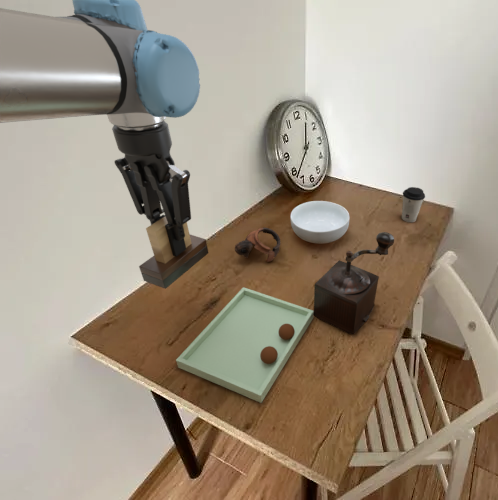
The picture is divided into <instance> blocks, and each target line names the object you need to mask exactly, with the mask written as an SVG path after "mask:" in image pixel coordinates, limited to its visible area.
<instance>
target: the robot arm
mask: <svg viewBox="0 0 498 500" xmlns="http://www.w3.org/2000/svg"><path fill="white" fill-rule="evenodd" d="M71 2H72V5H73V6H72V7H73V14H72V15H67V16H52V15H46V14H39V13H34V12H28V11H21V10H16V9H10V8H3V7H0V124H5V123H17V122H18V123H19V122H28V121H30V122H31V121H42V120H43V121H44V120H52V119H53V120H54V119H67V118H78V117H88V116H89V117H91V116H103V115H107V119H108V121H109V123H110V124H111V125H113V126H112V128H111V130H112V134H113V136H114V140H115V143H116V146H117V148H118V151H119V152H121V153H122V154H123V155H124V156H123V157H120V158H117V159H115V160H114V165H115V166H116V168H117V169H118V171H119V172H120V174H121V176H122V178H123V181H124V183H125V185H126V188H127V190H128V193H129V195H130V197H131V199H132V202H133V205H134V208H135V209H136V212H137V214H138V215H145V217H146V219H147V220H148V221H149V222H150V225H152V224H154V223H155V222H157V221H158V220H160V219H162V218H163V217H165V216H166V219H167V222H168V224H166V225H165V228H166V231H167V235H168V239H169V242H170V246H171V250H172V254H173V256H178V255H179V254H180V253H182V252H183V251H184V250H186V245H185V241H184V237H185V233H184V228H183V224H185V223H186V222H187V223H188V222H189V221H191V219H192V212H191V202H190V191H189V190H190V189H189V181H190V177H191V173H190V171H189V170H188V169H184V170H181V169H180V168H178V167H177V166H176V165H175V164H176V163H175V161H174V159H173V157H172V155H171V148H172V146H173V141H172V137H171V132H170V128H169V124H168V123H167V121H165V120H166V119H167V118H174V119H175V118H181V117H184V116H186V115H187V114H188V113H190V112H191V111H192V110H193V109H194V107H195V106H196V104H197V102H198V99H199V96H200V92H201V91H200V89H201V84H200V69H199V65H198V63H197V60H196V58H195V56H194V54H193V52H192V51H191V49H190V48H189V47H188V46H187V44H186V43H185V42H183V41H182V40H181V39H179V38H178V37H176V36H175V35H171V34H167V33H161V32H160V33H159V32H157V31H155V30H150V29H148V27H147V23H146V20H145V16H144V14H143V10H142V7H141V5H140V3H139V2H138V1H137V0H72V1H71Z"/></svg>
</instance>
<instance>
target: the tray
mask: <svg viewBox="0 0 498 500" xmlns="http://www.w3.org/2000/svg"><path fill="white" fill-rule="evenodd" d="M313 313H314V309H309V308H307V307H305V306H301V305H298V304H295V303H292V302H289V301H286V300H283V299H280V298H277V297H275V296H272V295H271V296H270V295H268V294H265V293H263V292H259V291H256V290H253V289H250V288H247V287H244V286H243V287H242V288H241V289H240V290H239V291H238V292H237V293H236V295H234V296H233V297H232V299H231V300H230V301H229V302H228V303H227V304H226V305H225V306H224V307H223V308H222V310H220V312H219V313H218V314H217V315H216V316H215V317H214V318H213V319H212V320H211V321H210V322H209V324H207V325H206V327H205V328H204V329H203V330H202V331H201V332H200V333H199V334H198V335H197V336H196V338H195V339H194V340H193V341H192V342H191V343H190V344H189V345H188V346H187V348H185V349H184V350H183V352H182V353H180V355H178V357H177V358H176V359H175V361H176V365H177V368H178V369H181V370H183V371H185V372H188V373H190V374H193V375H194V376H197V377H199V378H201V379H204V380H206V381H208V382H212V383H214V384H216V385H217V386H220V387H223V388H226V389H228V390H230V391H232V392H234V393H237V394H239V395H242V396H244V397H247V398H249V399H251V400H253V401H256V402H258V403H260V404H262V403H263V401H264V400H265V398H266V396H267V395H268V393H269V392H270V389H271V388H272V386H273V385H274V383H275V382H276V380H277V379H278V377H279V375H280V373H281V372H282V370H283V368H284V367H285V365H286V364H287V362H288V360H289V359H290V357H291V355H292V354H293V352H294V350H295V349H296V347H297V345H298V344H299V342H300V341H301V339H302V338H303V336H304V334H305V333H306V331H307V329H308V328H309V326H310V324H311V323H312V321H313V319H314V315H313ZM283 324H290V325H292V326H293V327H294V330H295V333H294V336H293V337H292V338H291V339H289V340H283V339H282V338H281V337H280V336H279V333H278V332H279V328H280V327H281V326H282V325H283ZM268 346H271V347H274V348H275V349H276V350H277V353H278V357H277V359H276V361H275V362H274V363H272V364H265V363H264V362H263V361H262V360H261V358H260V354H261V351H262V350H263V349H264V348H265V347H268Z"/></svg>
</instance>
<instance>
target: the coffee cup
mask: <svg viewBox="0 0 498 500" xmlns="http://www.w3.org/2000/svg"><path fill="white" fill-rule="evenodd" d="M425 198H426V194H425V193H424V190H423V189H422V188H420V187H415V186H410V187H408V188H406V189H404V190H403V191H402V208H401V219H402V220H403V221H404V222H406V223H414V222H416V221H417V218H418V215H419V213H420V210H421V209H422V208H421V207H422V205H423V202H424V200H425Z"/></svg>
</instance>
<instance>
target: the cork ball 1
mask: <svg viewBox="0 0 498 500" xmlns="http://www.w3.org/2000/svg"><path fill="white" fill-rule="evenodd" d="M277 357H278V353H277V350H276V349H275V348H274V347H271V346H268V347H265V348H264V349H263V350H262V351H261V354H260V358H261V360H262V361H263V362H264V363H265V364H272V363H274V362H275V361H276V359H277Z"/></svg>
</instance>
